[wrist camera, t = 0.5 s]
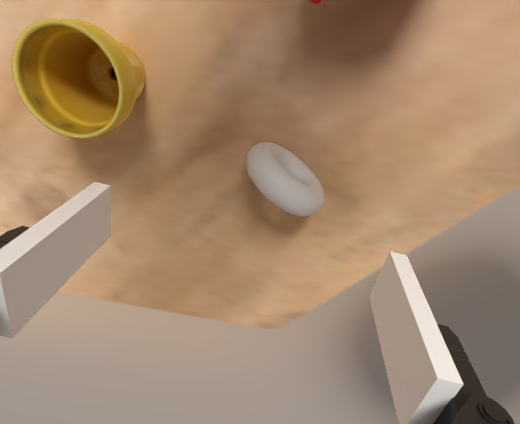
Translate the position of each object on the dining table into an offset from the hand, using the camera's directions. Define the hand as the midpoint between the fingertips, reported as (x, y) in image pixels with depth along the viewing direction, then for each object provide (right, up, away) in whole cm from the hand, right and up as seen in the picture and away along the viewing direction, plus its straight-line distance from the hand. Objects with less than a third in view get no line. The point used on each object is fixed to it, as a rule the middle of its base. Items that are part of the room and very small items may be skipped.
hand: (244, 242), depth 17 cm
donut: (+4, +7, +26) cm, 28 cm away
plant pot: (-15, +17, +24) cm, 33 cm away
